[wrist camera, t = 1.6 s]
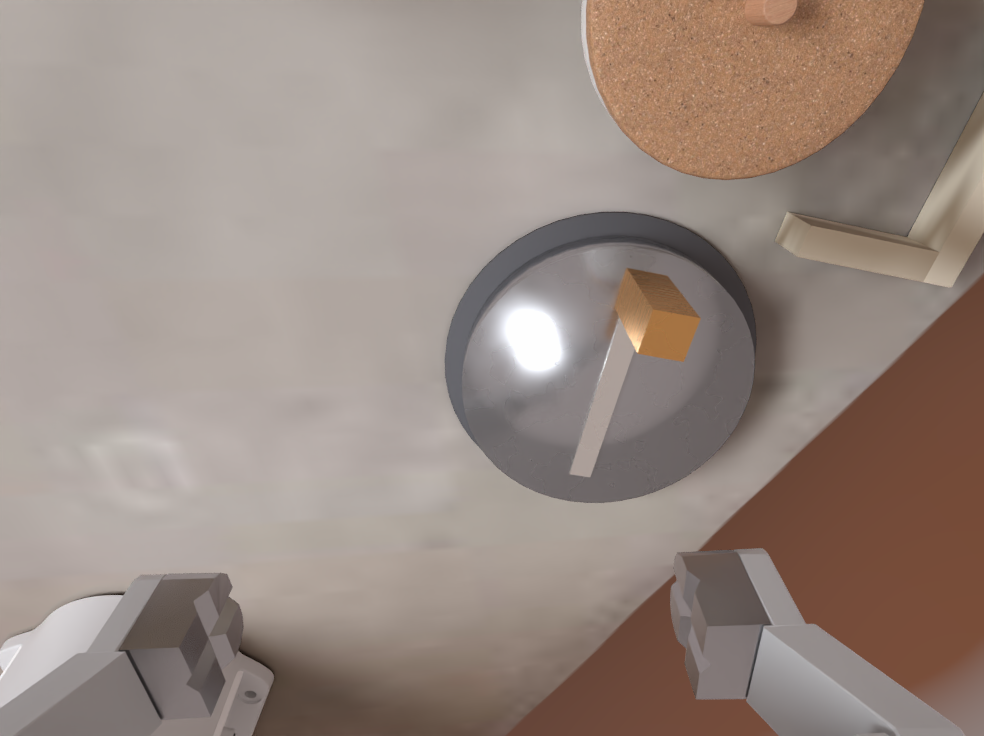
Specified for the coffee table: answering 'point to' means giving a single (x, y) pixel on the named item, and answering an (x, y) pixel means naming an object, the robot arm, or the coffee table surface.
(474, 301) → the base
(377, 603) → the coffee table surface
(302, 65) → the coffee table surface
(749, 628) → the robot arm
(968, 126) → the cream u-shaped bracket
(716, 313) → the turntable
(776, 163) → the lidded jar
